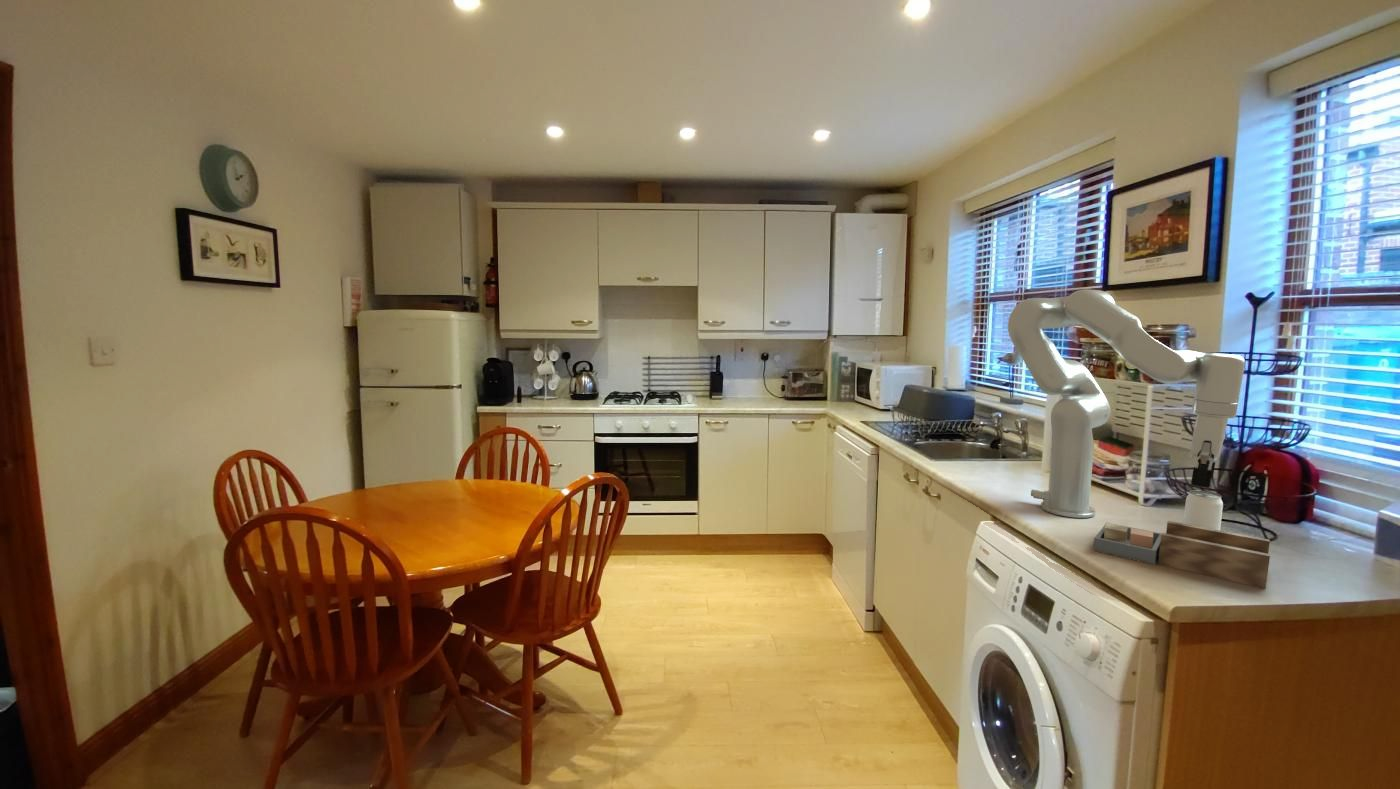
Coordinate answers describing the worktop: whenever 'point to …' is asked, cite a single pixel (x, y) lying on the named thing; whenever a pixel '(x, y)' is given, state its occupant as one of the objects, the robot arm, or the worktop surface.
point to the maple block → (1116, 533)
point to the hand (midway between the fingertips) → (1201, 481)
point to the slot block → (1215, 553)
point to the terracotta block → (1141, 538)
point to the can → (1203, 509)
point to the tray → (1128, 547)
